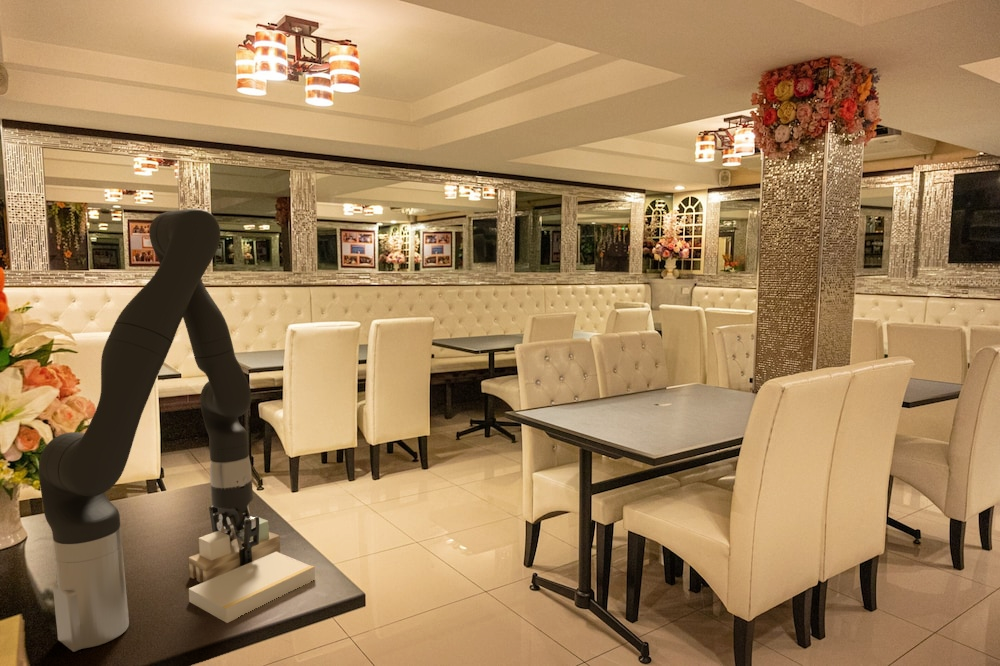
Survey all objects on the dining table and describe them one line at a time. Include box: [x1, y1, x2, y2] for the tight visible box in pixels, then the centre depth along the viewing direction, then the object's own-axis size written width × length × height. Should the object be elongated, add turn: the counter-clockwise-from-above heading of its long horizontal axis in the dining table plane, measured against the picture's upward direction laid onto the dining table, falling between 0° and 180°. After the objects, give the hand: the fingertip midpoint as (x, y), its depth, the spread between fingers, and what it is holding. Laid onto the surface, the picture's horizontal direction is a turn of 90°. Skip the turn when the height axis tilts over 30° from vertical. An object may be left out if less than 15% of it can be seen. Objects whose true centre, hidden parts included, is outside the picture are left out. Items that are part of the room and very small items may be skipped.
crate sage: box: [239, 517, 270, 541], centre depth 134 cm, size 4×4×4 cm
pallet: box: [188, 531, 281, 583], centre depth 131 cm, size 16×6×4 cm, turn 144°
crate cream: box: [198, 531, 231, 560], centre depth 127 cm, size 4×4×4 cm
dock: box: [188, 552, 316, 624], centre depth 121 cm, size 18×12×3 cm, turn 144°
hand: (236, 560), depth 131 cm, fingers closed on pallet, 6 cm apart
